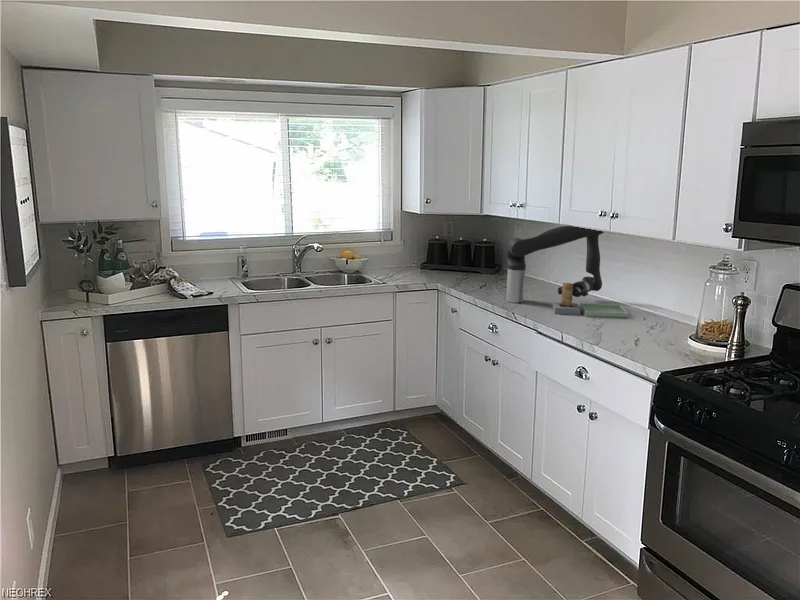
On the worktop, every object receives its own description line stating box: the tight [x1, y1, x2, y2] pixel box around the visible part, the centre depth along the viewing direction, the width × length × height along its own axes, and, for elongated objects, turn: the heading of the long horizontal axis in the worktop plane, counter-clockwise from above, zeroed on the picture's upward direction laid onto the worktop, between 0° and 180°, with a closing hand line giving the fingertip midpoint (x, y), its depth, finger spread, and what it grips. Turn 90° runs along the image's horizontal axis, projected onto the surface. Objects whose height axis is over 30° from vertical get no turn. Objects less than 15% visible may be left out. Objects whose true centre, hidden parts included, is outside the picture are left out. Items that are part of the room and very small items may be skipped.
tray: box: [579, 302, 629, 319], centre depth 323 cm, size 18×20×2 cm
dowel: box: [560, 282, 573, 307], centre depth 324 cm, size 5×5×14 cm
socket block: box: [551, 302, 581, 316], centre depth 325 cm, size 12×12×3 cm
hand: (567, 293), depth 324 cm, fingers open, 8 cm apart
